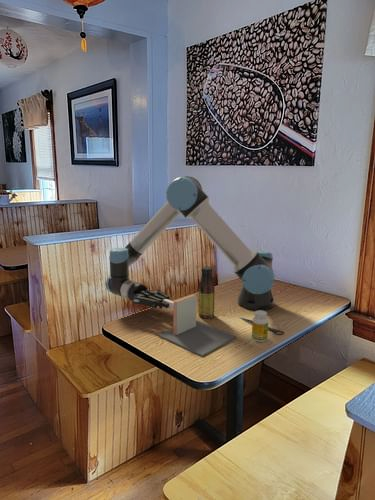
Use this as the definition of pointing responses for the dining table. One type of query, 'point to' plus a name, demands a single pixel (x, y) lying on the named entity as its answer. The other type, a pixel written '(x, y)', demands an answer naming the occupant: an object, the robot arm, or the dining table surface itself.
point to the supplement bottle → (260, 326)
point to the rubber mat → (199, 338)
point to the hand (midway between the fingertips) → (177, 307)
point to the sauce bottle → (206, 294)
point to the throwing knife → (268, 327)
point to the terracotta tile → (184, 314)
